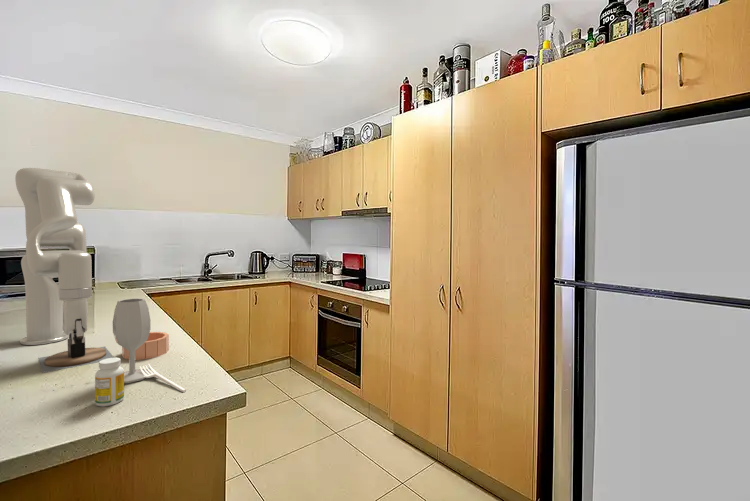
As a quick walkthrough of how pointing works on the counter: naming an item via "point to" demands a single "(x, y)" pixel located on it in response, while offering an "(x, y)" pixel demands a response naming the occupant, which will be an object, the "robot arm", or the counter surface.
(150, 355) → the bowl
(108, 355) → the mat
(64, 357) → the lid
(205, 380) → the counter surface
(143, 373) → the fork
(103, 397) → the supplement bottle
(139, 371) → the wineglass
